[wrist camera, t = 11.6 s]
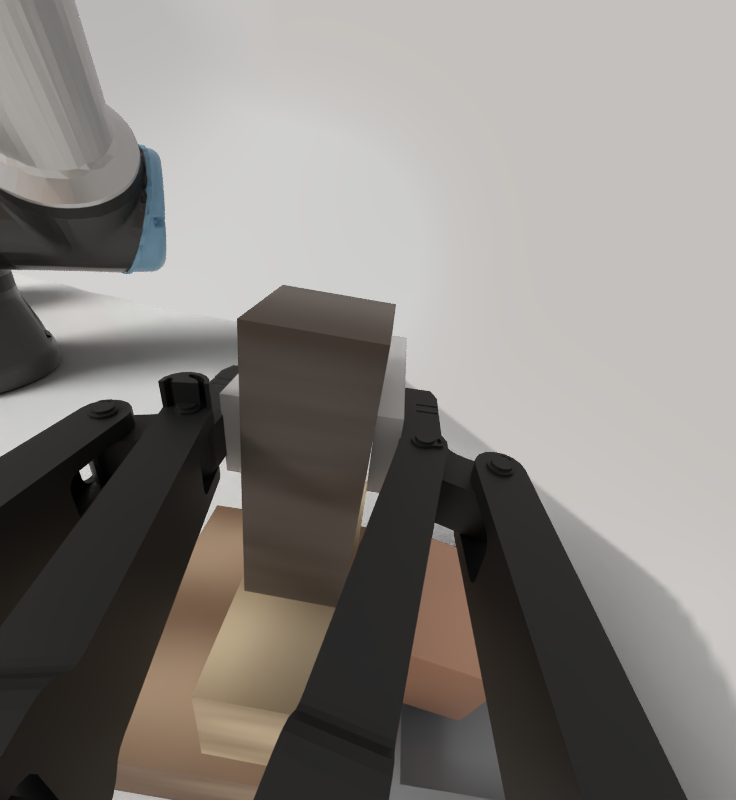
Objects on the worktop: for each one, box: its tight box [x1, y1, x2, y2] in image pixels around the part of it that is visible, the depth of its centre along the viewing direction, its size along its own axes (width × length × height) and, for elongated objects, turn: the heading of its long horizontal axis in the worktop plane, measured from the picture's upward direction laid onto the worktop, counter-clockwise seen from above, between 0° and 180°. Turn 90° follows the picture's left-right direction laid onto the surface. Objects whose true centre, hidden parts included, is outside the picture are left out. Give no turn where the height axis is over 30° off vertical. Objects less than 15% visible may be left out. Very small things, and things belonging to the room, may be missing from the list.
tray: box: [389, 546, 505, 800], centre depth 19 cm, size 12×10×2 cm
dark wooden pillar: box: [191, 285, 396, 766], centre depth 13 cm, size 10×4×14 cm, turn 174°
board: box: [114, 506, 366, 800], centre depth 19 cm, size 12×10×3 cm
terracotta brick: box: [357, 537, 486, 721], centre depth 18 cm, size 6×6×4 cm
